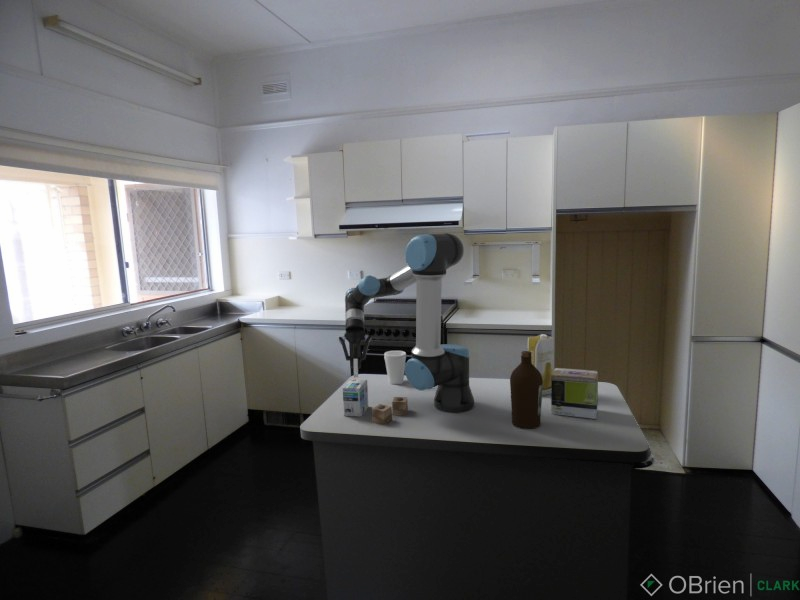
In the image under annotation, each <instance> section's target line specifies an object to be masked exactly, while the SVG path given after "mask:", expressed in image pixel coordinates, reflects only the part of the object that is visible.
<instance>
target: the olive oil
mask: <svg viewBox="0 0 800 600" xmlns="http://www.w3.org/2000/svg"><path fill="white" fill-rule="evenodd" d="M531 361H532V356H531V352H530V351H528V350H522V351H521V355H520V363H519V364H518V365H517V366H516V367H515V368H514V369H513V370H512V371H511V374H510V377H509V382H510V383H509V386H510V388H509V389H510V402H511V403H510V405H511V407H510V408H511V424H512V425H513V426H514V427H516V428H518V427H519V428H518V429H523V430H534V429H538V428H539V427H540V426H541V424H542V423H541V420H542V419H541V418H542V417H541V416H542V400H543V396H542V388H543V379H542V375H541V373H540V372H539V371H538V370H537V368H536V367H535V366H534V365H533V364H532V363H531ZM533 428H534V429H533Z"/></svg>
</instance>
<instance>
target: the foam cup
mask: <svg viewBox="0 0 800 600" xmlns="http://www.w3.org/2000/svg"><path fill="white" fill-rule="evenodd" d="M383 356H384V357H383V358H384V362H385V368H386V374H387V380H388V383H389V384H390V383H391V385H400V384H401V385H402V384H404V378H405V364H406V359H407V353H406V352H405V351H403V350H389V351H385V352H384V354H383Z"/></svg>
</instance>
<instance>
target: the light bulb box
mask: <svg viewBox="0 0 800 600" xmlns="http://www.w3.org/2000/svg"><path fill="white" fill-rule="evenodd" d="M342 399H343V401H342V403H343V416H347V417H360V418H361V417H362V416H363V415H364V413H365V412H366V411H367V409H368V408H369V391H368V379H357V378H354V379H353V378H351V379H350V380H349V381H348V382H347V383H346V384H345V385H344V386H343V387H342Z"/></svg>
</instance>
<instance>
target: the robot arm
mask: <svg viewBox="0 0 800 600" xmlns="http://www.w3.org/2000/svg"><path fill="white" fill-rule="evenodd" d="M464 250H465V249H464V244H463V242H462V240H461V239H460V237H458V236H457V235H455V234H453V233H448V232H447V233H446V232H445V233H426V234H425V233H424V234H419V235H416V236H414V237H412V238H411V239H410V241H409V242H408V243H407V245H406V249H405V252H404V255H405V262H406V263H407V265H406V266H404V267H402V268H401V269H399V270H397V271H395V273H392V274H391V275H389V276H386V277H383V278H377V277H376V276H373V275H370V274H369V275H365V276H364V278H363V279H361V280H360V281H359V282H358V284H357V285H356V286H355V287H351V288H349V289H346V292H345V297H344V304H345V305H344V306H345V307H344V308H345V312H344V313H345V332H344V334H343V336H339V337H338V341H339V343H340V345H341V346H342V350H343V354H344V357H345V361H349V362H350V369H352V370H353V378H354V379H357V378H359V369H361V367H362V361H365V360H366V358H367V353H368V349H369V345H370V343H371V341H372V335H370V334H369V335H367V333H366V330H365V306H366V304H368V303H369V302H370V301H371V300H372V299H377V298H383V297H390V296H397V295H400V294H402V293H403V292H404V290H405V289H407V288H408V287H411V286H412V285H414V284H415V283H416V296H415V297H416V305H415V306H416V307H415V308H416V310H415V311H416V312H415V313H416V315H415V316H416V320H415V327H416V328H415V329H416V330H415V334H416V335H415V336H416V337H415V346H414V347H413V348H412V349H411V358H409V359H408V360H407V362H405V369H404V376H405V377H406V379H407V381H408V382H409V384H410V385H411V386H412V388H414V389H416V390H419V391H426V390H431V389H433V388H435V387H437V389H436V392H435V394H434V395H435V396H434V399H433V404H434V405H433V406H434V407H435V408H436V409H437V410H439V411H443V412H448V413H461V412H466V411H470V410H472V409H473V408H474V407H475V398H474V395H473V391H472V389H471V386H470V353H469V349H468V348H467V347H466V346H463V345H459V344H453V343H447V344H446V343H445V344H444V343H443V344H441V340H442V339H441V336H442V335H441V334H442V332H441V331H442V330H441V329H442V328H441V327H442V284H443V283H442V280H443V278H445V276H446V275H447V269H449V268H452V267H453V266H455V265H457V264H459V263H460V262H461V260H462V258H463V257H464V253H465V251H464ZM346 341H347V342H348V343H349V345H350V346H349V347H350V348H349V349H350V351H348V348H347V345H346ZM363 341H365V342H364V344H363V345H364V346H363V351H362V354H361V343H362V342H363ZM355 344H356V357H357V358H355V347H354V346H355ZM348 352H349V353H348ZM349 354H350V355H349Z"/></svg>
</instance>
